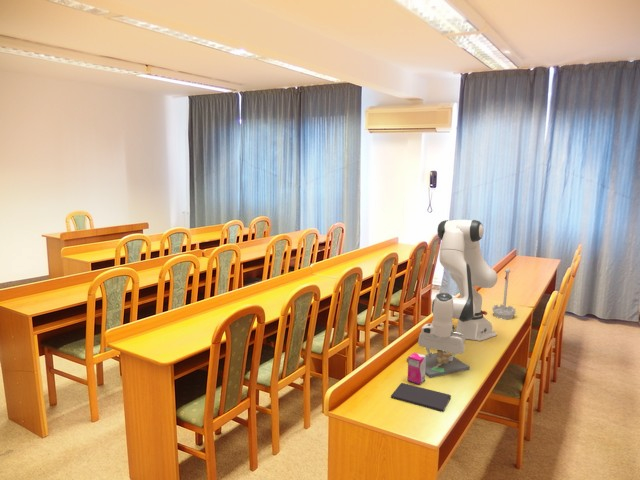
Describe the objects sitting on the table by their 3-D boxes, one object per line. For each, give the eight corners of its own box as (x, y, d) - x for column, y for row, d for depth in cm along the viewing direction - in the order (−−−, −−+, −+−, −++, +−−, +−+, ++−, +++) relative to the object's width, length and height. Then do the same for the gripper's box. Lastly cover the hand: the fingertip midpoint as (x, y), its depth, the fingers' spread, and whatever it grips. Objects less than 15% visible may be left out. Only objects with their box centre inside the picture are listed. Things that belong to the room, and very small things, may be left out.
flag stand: (495, 311, 300) (499, 264, 294) (517, 315, 292) (522, 267, 287) (489, 316, 289) (493, 268, 284) (511, 321, 282) (516, 272, 276)
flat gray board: (444, 354, 235) (445, 350, 235) (470, 370, 219) (470, 366, 218) (406, 361, 227) (406, 357, 226) (430, 378, 210) (430, 374, 210)
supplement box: (413, 376, 212) (414, 351, 210) (425, 380, 208) (426, 355, 206) (406, 380, 207) (408, 356, 205) (419, 385, 204) (420, 360, 202)
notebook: (390, 399, 193) (443, 413, 183) (390, 395, 193) (443, 409, 183) (401, 385, 204) (451, 398, 194) (401, 382, 204) (451, 395, 194)
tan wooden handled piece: (438, 357, 228) (439, 341, 226) (451, 360, 225) (452, 344, 223) (429, 369, 215) (430, 352, 214) (442, 372, 212) (444, 355, 211)
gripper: (467, 331, 212) (464, 360, 215) (421, 323, 222) (420, 351, 224) (464, 336, 207) (462, 366, 209) (417, 327, 216) (416, 356, 219)
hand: (440, 358), depth 217 cm, fingers open, 8 cm apart
